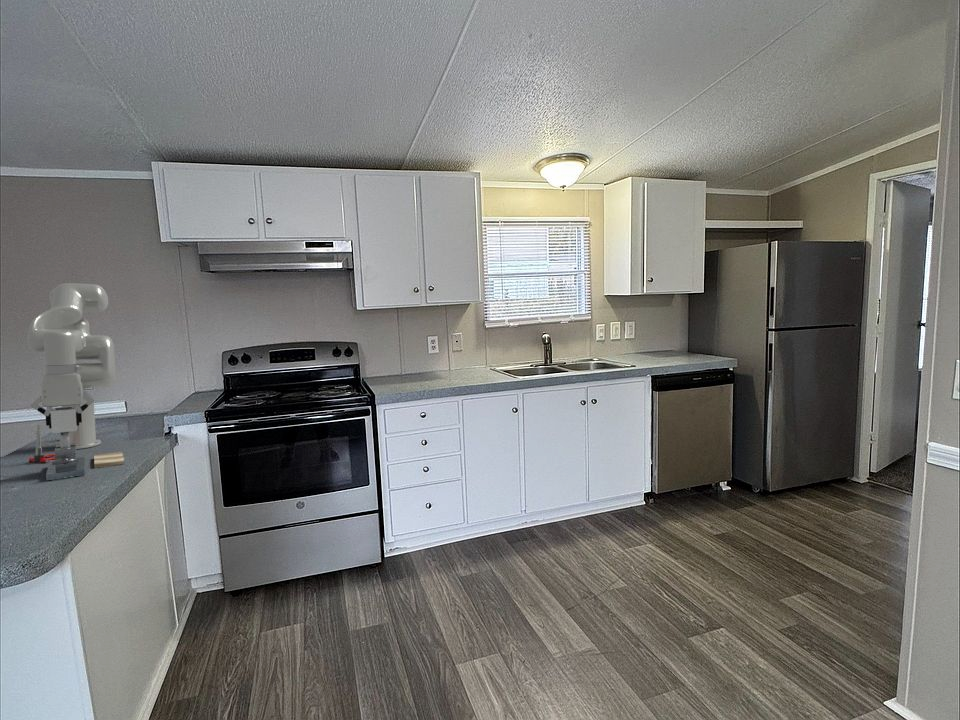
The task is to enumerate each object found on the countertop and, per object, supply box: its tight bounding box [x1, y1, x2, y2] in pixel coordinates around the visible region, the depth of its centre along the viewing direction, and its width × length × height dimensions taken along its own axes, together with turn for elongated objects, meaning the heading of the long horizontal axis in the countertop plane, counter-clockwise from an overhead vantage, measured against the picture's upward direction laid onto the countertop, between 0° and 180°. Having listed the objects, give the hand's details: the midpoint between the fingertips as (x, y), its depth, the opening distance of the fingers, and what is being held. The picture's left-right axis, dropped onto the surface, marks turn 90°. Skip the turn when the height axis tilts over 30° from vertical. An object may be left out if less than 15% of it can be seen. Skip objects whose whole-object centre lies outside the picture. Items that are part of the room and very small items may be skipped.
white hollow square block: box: [50, 406, 77, 434], centre depth 158 cm, size 6×6×7 cm
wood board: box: [93, 451, 126, 469], centre depth 171 cm, size 14×8×1 cm, turn 38°
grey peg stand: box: [45, 432, 86, 482], centre depth 159 cm, size 18×9×14 cm, turn 38°
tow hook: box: [28, 424, 55, 463], centre depth 173 cm, size 8×13×9 cm
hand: (64, 425), depth 159 cm, fingers closed on white hollow square block, 6 cm apart
